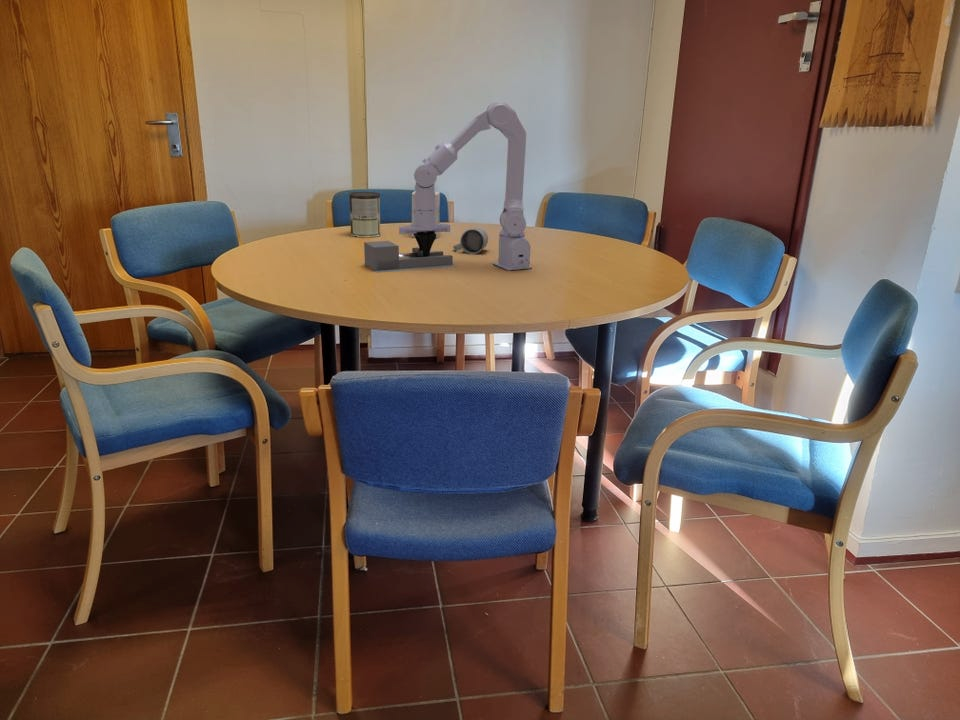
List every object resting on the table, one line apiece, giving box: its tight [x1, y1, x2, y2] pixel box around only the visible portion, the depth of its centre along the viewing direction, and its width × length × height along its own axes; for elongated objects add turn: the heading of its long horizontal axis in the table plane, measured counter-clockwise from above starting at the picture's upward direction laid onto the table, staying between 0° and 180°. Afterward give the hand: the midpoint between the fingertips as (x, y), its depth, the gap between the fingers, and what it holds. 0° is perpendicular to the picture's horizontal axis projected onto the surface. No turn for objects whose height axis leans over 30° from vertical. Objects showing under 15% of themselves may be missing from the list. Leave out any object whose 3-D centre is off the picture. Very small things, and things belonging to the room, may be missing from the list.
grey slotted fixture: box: [362, 240, 459, 274], centre depth 193 cm, size 12×24×7 cm, turn 117°
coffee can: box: [348, 191, 381, 238], centre depth 237 cm, size 10×10×14 cm
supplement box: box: [411, 190, 441, 239], centre depth 239 cm, size 9×9×15 cm
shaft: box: [399, 247, 423, 259], centre depth 193 cm, size 4×10×4 cm, turn 117°
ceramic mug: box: [452, 227, 489, 255], centre depth 217 cm, size 11×8×8 cm
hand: (424, 258), depth 196 cm, fingers closed
